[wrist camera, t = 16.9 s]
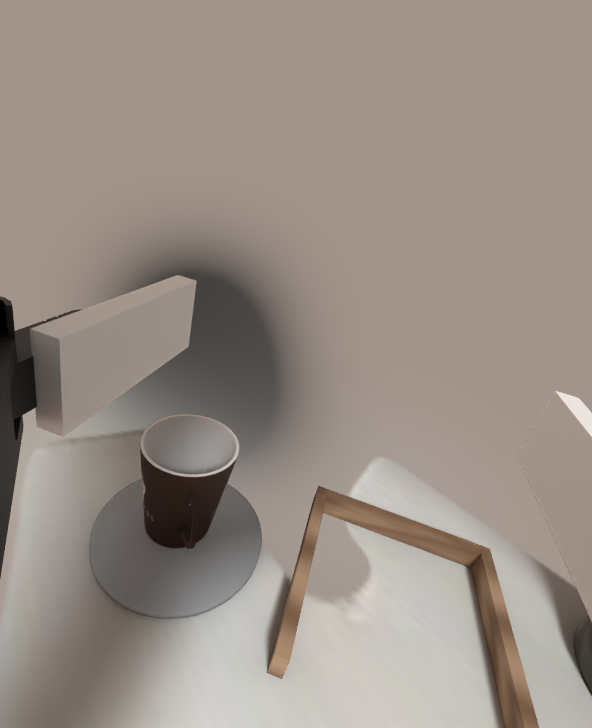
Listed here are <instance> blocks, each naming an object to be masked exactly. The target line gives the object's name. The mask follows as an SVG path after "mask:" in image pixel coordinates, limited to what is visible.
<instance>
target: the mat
mask: <svg viewBox="0 0 592 728" xmlns="http://www.w3.org/2000/svg"><path fill="white" fill-rule="evenodd" d="M261 542H262V537H261V528H260V523H259V520H258V517H257V515H256V513H255V511H254V509H253V508H252V506H251V504H250V503H249V502H248V501H247V499H246V498H245V497H244V496H243V495H242V494H241V493H240V492H238V491H237V490H236V489H235V488H233V487H232V486H230V485H228V484H226V487H225V489H224V492H223V495H222V497H221V500H220V502H219V505H218V507H217V510H216V512H215V515H214V517H213V520H212V522H211V525H210V527H209V530H208V532H207V534H206V535H205V536H204V537H203V538H202V539H201V540H200V541H199V542H197V543H196V544H195V547H194V548H193V549H187V548H186V547H184V548H167V547H164V546H161V545H159V544H157V543H155V542H154V541H153V540H152V539H151V538H150V537H149V536H148V534H147V533H146V530H145V524H144V507H143V488H142V479H141V480H139V481H137V482H135V483H133V484H131V485H129V486H128V487H126V488H124V489H123V490H121V491H120V492H119V493H117V494H116V495H115V496H114V497H113V498H112V499H111V500H110V501H109V502H108V503H107V504H106V505H105V507H104V508H103V509H102V511H101V512H100V514H99V515H98V517H97V519H96V522H95V524H94V526H93V530H92V534H91V540H90V561H91V565H92V569H93V572H94V575H95V577H96V579H97V581H98V583H99V584H100V585H101V587H102V588H103V590H104V591H105V592H106V593H107V594H108V595H109V596H110V597H111V598H112V599H113V600H115V601H116V602H117V603H119V604H120V605H122V606H123V607H125V608H127V609H129V610H131V611H133V612H136V613H139V614H142V615H145V616H151V617H156V618H184V617H189V616H194V615H198V614H201V613H204V612H207V611H210V610H212V609H214V608H216V607H218V606H220V605H221V604H223V603H224V602H226V601H227V600H229V599H230V598H232V597H233V596H234V595H235V594H236V593H237V592H238V591H239V590H240V589H241V588H242V587H243V586H244V585H245V584H246V582H247V581H248V579H249V578H250V576H251V575H252V573H253V571H254V568H255V566H256V564H257V560H258V557H259V554H260V550H261Z"/></svg>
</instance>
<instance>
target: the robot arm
mask: <svg viewBox="0 0 592 728" xmlns="http://www.w3.org/2000/svg"><path fill="white" fill-rule="evenodd" d="M195 288H196V281H195V280H192V279H188V278H185V277H182V276H179V275H177V276H174V277H171V278H169V279H166V280H163V281H160V282H157V283H155V284H152V285H149V286H147V287H144V288H141V289H138V290H135V291H133V292H130V293H127V294H124V295H122V296H119V297H116V298H113V299H111V300H108V301H105V302H102V303H100V304H97V305H94V306H91V307H89V308H86V309H81V310H73V311H70V312H68V313H64V314H62V315H59V316H58V317H53V318H50V319H48V320H47V321H42V322H39V323H36V324H33V325H31V326H28V327H25V328H22V329H19V330H17V331H14V320H13V309H12V303H11V301H9V300H8V299H6V298H3V297H0V577H1V570H2V563H3V557H4V550H5V544H6V537H7V531H8V524H9V518H10V511H11V505H12V498H13V491H14V485H15V478H16V472H17V465H18V459H19V452H20V446H21V439H22V433H23V417H22V415H23V414H25V413H27V412H28V411H30V410H32V409H33V408H35V407H36V421H37V427H39V428H42V429H44V430H47V431H50V432H52V433H55V434H58V435H60V436H65V435H66V434H67V433H69V432H70V431H71V430H73V429H74V428H76V427H77V426H78V425H80V424H81V423H82V422H84V421H85V420H87V419H88V418H90V417H91V416H92V415H94V414H95V413H97V412H98V411H99V410H101V409H102V408H104V407H105V406H106V405H108V404H109V403H110V402H112V401H113V400H115V399H116V398H117V397H119V396H120V395H121V394H123V393H124V392H126V391H127V390H128V389H130V388H131V387H133V386H134V385H135V384H137V383H138V382H140V381H141V380H142V379H144V378H145V377H147V376H148V375H149V374H151V373H152V372H154V371H155V370H156V369H158V368H159V367H161V366H162V365H163V364H165V363H166V362H168V361H169V360H170V359H172V358H173V357H174V356H176V355H177V354H179V353H180V352H181V351H183V350H184V349H186V348H187V347H188V345H189V337H190V329H191V321H192V312H193V305H194V296H195ZM517 457H518V459H519V461H520V463H521V466H522V468H523V470H524V473H525V475H526V477H527V479H528V482H529V484H530V486H531V488H532V490H533V493H534V495H535V497H536V499H537V502H538V503H539V506H540V508H541V510H542V513H543V515H544V517H545V519H546V522H547V524H548V526H549V528H550V530H551V533H552V535H553V537H554V539H555V542H556V544H557V546H558V548H559V550H560V552H561V555H562V557H563V559H564V562H565V564H566V566H567V568H568V570H569V573H570V575H571V577H572V579H573V582H574V584H575V586H576V588H577V590H578V593H579V595H580V597H581V599H582V602H583V604H584V606H585V608H586V610H587V613H588V616H587V618H586V619H585V620H584V621H583V622H582V623H581V624H580V625H579V626H578V628H577V630H576V633H575V639H574V645H575V652H576V657H577V660H578V663H579V666H580V669H581V671H582V674H583V676H584V678H585V680H586V682H587V684H588V686H589V688H590V690H591V692H592V413H591V412H590V410H589V409H588V408H587V407H586V406H585V405H584V404H583V403H582V401H581V400H580V399H579V398H577V397H574V396H570V395H567V394H564V393H561V392H557V391H555V392H554V393H553V395H552V396H551V398H550V400H549V401H548V403H547V405H546V406H545V408H544V410H543V411H542V413H541V414H540V416H539V418H538V419H537V421H536V423H535V424H534V426H533V428H532V429H531V431H530V432H529V434H528V436H527V437H526V439H525V441H524V442H523V444H522V446H521V447H520V449H519V450H518V452H517Z"/></svg>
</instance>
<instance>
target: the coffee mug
mask: <svg viewBox="0 0 592 728" xmlns="http://www.w3.org/2000/svg"><path fill="white" fill-rule="evenodd" d="M140 452H141V470H142V488H143V507H144V524H145V530H146V533H147V534H148V536H149V537H150V538H151V539H152V540H153V541H154V542H155V543H157V544H159V545H161V546H164V547H167V548H184V547H186V548H187V549H193V548H194V547H195V544H196V543H197V542H199V541H200V540H201V539H202V538H203V537H204V536H205V535H206V534H207V532H208V530H209V527H210V525H211V522H212V520H213V517H214V515H215V512H216V510H217V507H218V505H219V502H220V500H221V497H222V495H223V492H224V489H225V487H226V484H227V482H228V479H229V477H230V474H231V472H232V469H233V467H234V464H235V462H236V459H237V457H238V453H239V442H238V440H237V437H236V436H235V434H234V433H233V432H232V431H231V430H230V429H229V428H228V427H227V426H225V425H224V424H222V423H221V422H219V421H217V420H215V419H212V418H209V417H206V416H201V415H193V414H178V415H171V416H167V417H164V418H161V419H159V420H157V421H155V422H153V423H152V424H150V425H149V426H148V427H147V428H146V429H145V430H144V432H143V434H142V435H141V440H140Z"/></svg>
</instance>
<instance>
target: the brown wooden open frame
mask: <svg viewBox="0 0 592 728" xmlns="http://www.w3.org/2000/svg"><path fill="white" fill-rule="evenodd" d="M323 513H326V514H328V515H331V516H333V517H336V518H339V519H342V520H344V521H347V522H350V523H352V524H355V525H358V526H360V527H363V528H366V529H368V530H371V531H374V532H376V533H379V534H382V535H384V536H387V537H390V538H392V539H395V540H398V541H400V542H403V543H406V544H408V545H411V546H414V547H416V548H419V549H422V550H424V551H427V552H430V553H432V554H435V555H438V556H441V557H443V558H446V559H449V560H451V561H454V562H457V563H459V564H462V565H465V566H467V567H470V568H472V573H473V578H474V583H475V587H476V592H477V597H478V601H479V606H480V611H481V616H482V620H483V625H484V630H485V634H486V639H487V644H488V649H489V653H490V658H491V663H492V668H493V672H494V677H495V682H496V686H497V691H498V696H499V701H500V705H501V710H502V715H503V719H504V724H505V728H539V726H538V722H537V718H536V715H535V711H534V708H533V704H532V700H531V697H530V693H529V689H528V686H527V682H526V679H525V675H524V671H523V668H522V664H521V660H520V657H519V653H518V650H517V646H516V642H515V639H514V635H513V631H512V628H511V624H510V621H509V617H508V613H507V610H506V606H505V602H504V599H503V595H502V592H501V588H500V584H499V581H498V577H497V573H496V570H495V566H494V563H493V559H492V555H491V552H490V549H489V548H486V547H484V546H481V545H478V544H476V543H473V542H470V541H467V540H465V539H462V538H459V537H457V536H454V535H451V534H448V533H446V532H443V531H440V530H437V529H435V528H432V527H429V526H427V525H424V524H421V523H418V522H416V521H413V520H410V519H407V518H405V517H402V516H399V515H397V514H394V513H391V512H388V511H386V510H383V509H380V508H377V507H375V506H372V505H369V504H367V503H364V502H361V501H358V500H356V499H353V498H350V497H347V496H345V495H342V494H339V493H337V492H334V491H331V490H328V489H326V488H323V487H320V486H319V487H318V489H317V492H316V495H315V497H314V500H313V503H312V507H311V511H310V514H309V518H308V522H307V526H306V529H305V533H304V537H303V540H302V544H301V548H300V552H299V556H298V559H297V563H296V567H295V570H294V574H293V578H292V582H291V585H290V589H289V593H288V597H287V600H286V604H285V608H284V612H283V615H282V619H281V623H280V627H279V630H278V634H277V638H276V642H275V645H274V649H273V653H272V657H271V660H270V664H269V668H268V672H267V673H269V674H272V675H274V676H276V677H279V678H281V679H282V677H283V675H284V673H285V670H286V668H287V666H288V664H289V661H290V657H291V653H292V648H293V644H294V639H295V635H296V630H297V626H298V622H299V617H300V613H301V608H302V604H303V599H304V595H305V590H306V586H307V582H308V577H309V572H310V568H311V564H312V559H313V555H314V550H315V546H316V542H317V537H318V532H319V528H320V524H321V519H322V515H323Z"/></svg>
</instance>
